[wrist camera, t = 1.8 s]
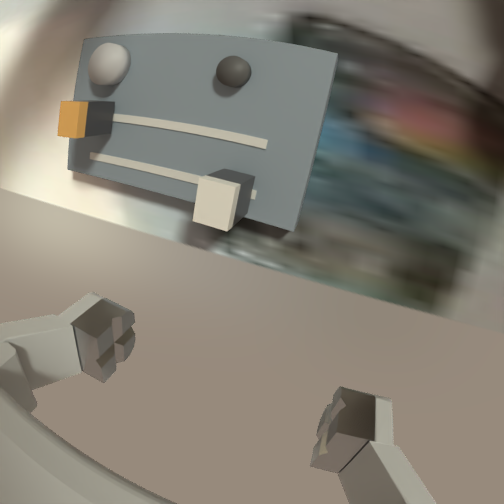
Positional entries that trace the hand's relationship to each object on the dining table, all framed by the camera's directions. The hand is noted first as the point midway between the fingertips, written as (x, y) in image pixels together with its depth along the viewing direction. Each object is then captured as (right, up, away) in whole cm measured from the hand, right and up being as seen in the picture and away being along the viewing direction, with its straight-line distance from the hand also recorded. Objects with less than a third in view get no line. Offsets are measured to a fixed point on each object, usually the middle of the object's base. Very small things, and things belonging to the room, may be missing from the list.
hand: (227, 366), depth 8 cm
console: (-5, +15, +17) cm, 24 cm away
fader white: (-1, +8, +16) cm, 18 cm away
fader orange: (-13, +15, +17) cm, 26 cm away
